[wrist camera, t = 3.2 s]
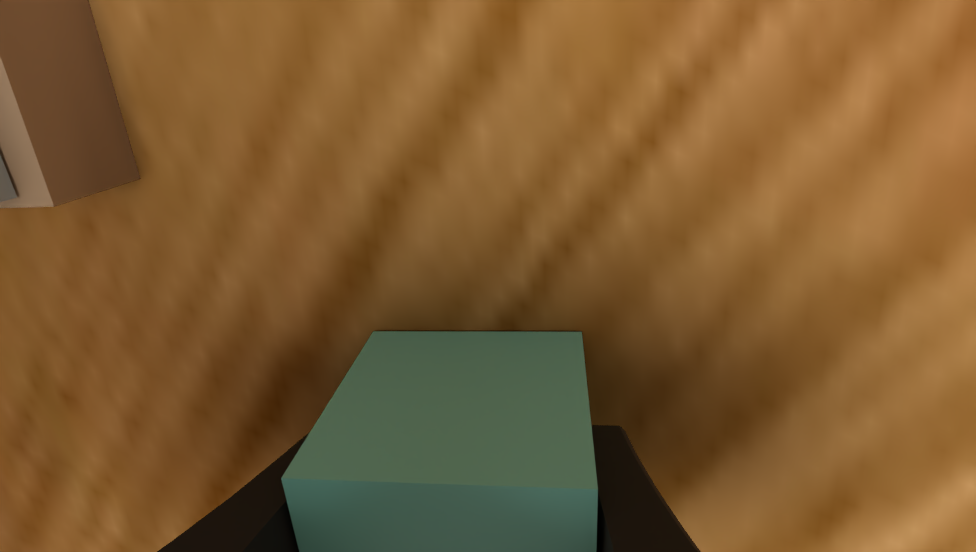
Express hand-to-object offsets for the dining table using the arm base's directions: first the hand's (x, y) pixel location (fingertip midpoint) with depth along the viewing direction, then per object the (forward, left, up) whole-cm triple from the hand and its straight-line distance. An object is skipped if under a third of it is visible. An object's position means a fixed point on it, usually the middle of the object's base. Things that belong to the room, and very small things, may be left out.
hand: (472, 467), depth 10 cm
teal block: (0, 0, -1) cm, 1 cm away
